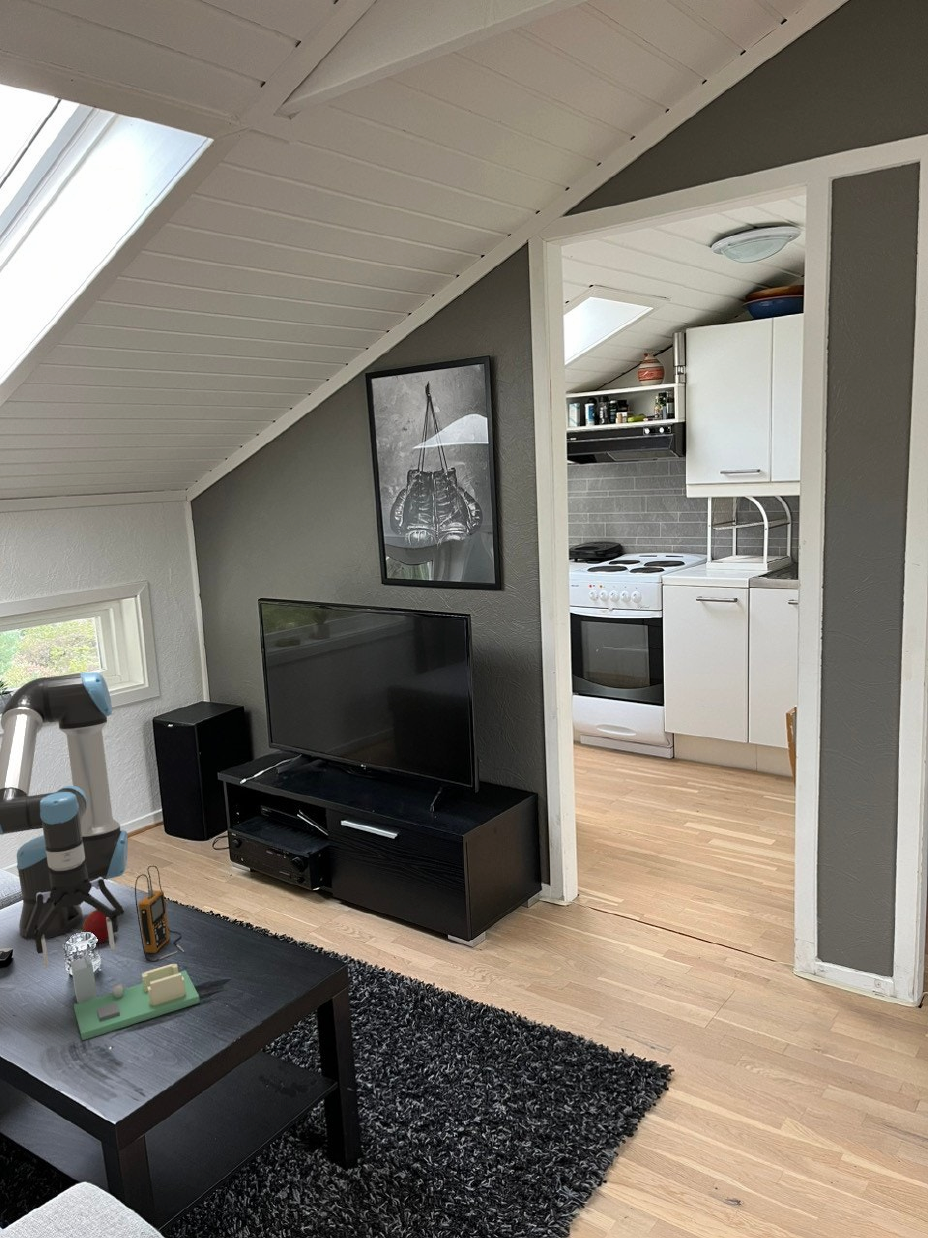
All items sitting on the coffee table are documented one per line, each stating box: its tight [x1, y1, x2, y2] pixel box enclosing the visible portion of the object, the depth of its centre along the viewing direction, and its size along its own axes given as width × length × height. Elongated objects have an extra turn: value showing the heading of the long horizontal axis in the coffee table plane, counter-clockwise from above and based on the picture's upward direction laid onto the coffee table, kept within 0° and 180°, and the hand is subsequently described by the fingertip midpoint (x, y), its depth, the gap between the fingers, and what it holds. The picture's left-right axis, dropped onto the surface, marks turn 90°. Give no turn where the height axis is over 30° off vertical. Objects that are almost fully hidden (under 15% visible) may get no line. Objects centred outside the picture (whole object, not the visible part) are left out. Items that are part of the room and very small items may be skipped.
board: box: [73, 963, 201, 1041], centre depth 207 cm, size 13×24×6 cm, turn 119°
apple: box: [82, 909, 115, 944], centre depth 238 cm, size 8×8×8 cm
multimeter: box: [134, 865, 185, 963], centre depth 231 cm, size 15×10×20 cm
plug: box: [70, 954, 98, 1003], centre depth 212 cm, size 5×4×9 cm
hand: (80, 956), depth 211 cm, fingers open, 13 cm apart
